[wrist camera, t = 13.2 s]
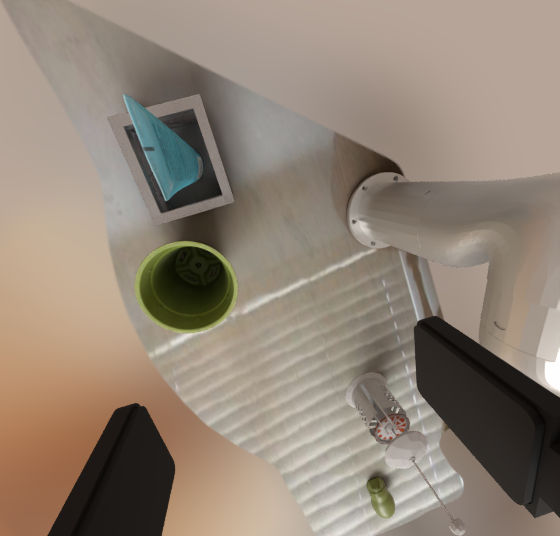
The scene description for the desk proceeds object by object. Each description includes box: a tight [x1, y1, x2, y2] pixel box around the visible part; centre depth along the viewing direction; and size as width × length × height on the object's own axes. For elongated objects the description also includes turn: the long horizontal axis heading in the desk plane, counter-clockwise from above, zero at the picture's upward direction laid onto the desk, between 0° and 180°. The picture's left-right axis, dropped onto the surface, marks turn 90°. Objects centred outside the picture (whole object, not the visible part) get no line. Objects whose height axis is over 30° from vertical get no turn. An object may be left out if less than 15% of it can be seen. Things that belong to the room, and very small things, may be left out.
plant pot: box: [135, 241, 238, 333], centre depth 36 cm, size 12×12×11 cm
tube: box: [123, 94, 204, 201], centre depth 28 cm, size 7×5×19 cm, turn 20°
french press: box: [346, 372, 465, 535], centre depth 45 cm, size 10×12×25 cm
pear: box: [367, 477, 395, 518], centre depth 66 cm, size 6×5×10 cm
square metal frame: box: [107, 94, 235, 226], centre depth 34 cm, size 10×12×6 cm
